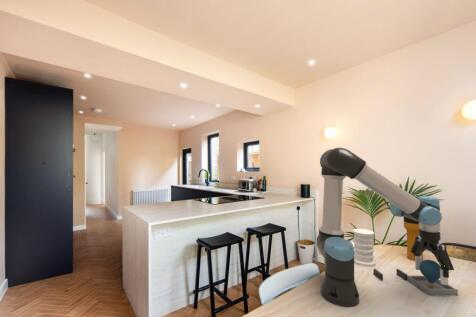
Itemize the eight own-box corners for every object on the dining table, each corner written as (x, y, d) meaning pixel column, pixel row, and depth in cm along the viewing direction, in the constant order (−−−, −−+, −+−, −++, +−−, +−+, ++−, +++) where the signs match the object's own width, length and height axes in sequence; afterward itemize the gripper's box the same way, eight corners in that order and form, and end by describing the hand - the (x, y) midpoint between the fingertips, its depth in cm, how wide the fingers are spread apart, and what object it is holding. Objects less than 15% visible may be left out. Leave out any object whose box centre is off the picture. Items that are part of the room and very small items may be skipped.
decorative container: (354, 264, 127) (354, 233, 128) (351, 257, 138) (350, 227, 139) (377, 268, 123) (377, 235, 124) (372, 259, 134) (372, 229, 135)
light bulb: (448, 292, 98) (447, 264, 99) (426, 290, 100) (425, 263, 100) (435, 283, 106) (434, 257, 107) (415, 281, 108) (415, 256, 109)
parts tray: (429, 295, 97) (428, 289, 97) (406, 280, 110) (406, 275, 110) (457, 295, 97) (457, 289, 97) (432, 280, 110) (432, 275, 110)
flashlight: (404, 216, 135) (402, 213, 144) (405, 259, 134) (403, 254, 143) (425, 218, 130) (422, 215, 138) (426, 263, 129) (423, 257, 138)
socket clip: (380, 280, 110) (380, 274, 110) (373, 274, 116) (373, 268, 116) (407, 280, 110) (407, 274, 110) (398, 274, 116) (398, 268, 116)
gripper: (464, 238, 92) (466, 291, 91) (416, 223, 117) (416, 264, 116) (446, 238, 92) (448, 291, 91) (401, 223, 117) (402, 264, 116)
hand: (430, 276), depth 104 cm, fingers open, 13 cm apart
